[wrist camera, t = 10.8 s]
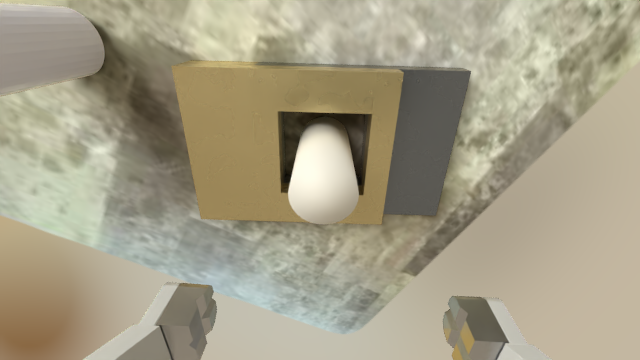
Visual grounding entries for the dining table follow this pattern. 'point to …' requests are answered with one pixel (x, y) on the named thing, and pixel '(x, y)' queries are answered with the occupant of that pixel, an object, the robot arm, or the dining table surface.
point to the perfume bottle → (45, 46)
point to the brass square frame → (324, 97)
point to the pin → (323, 174)
